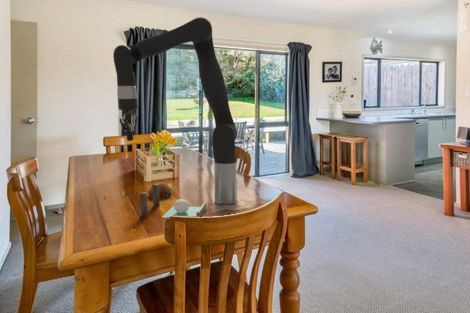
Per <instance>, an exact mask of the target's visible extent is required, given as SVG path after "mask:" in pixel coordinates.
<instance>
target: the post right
mask: <svg viewBox="0 0 470 313" xmlns="http://www.w3.org/2000/svg"><path fill="white" fill-rule="evenodd" d="M151 186H152V190H153V198H152V206H153V207H154V208H159V207H160V205H161V203H160V200H161V199H159V184H156V183H153V184H152V185H151Z"/></svg>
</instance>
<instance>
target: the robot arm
mask: <svg viewBox="0 0 470 313" xmlns="http://www.w3.org/2000/svg"><path fill="white" fill-rule="evenodd" d="M213 39H214V38H213V27H212V23H211V21H209V19H207V18H205V17H201V16H200V17H196V18H194V19H192V20H189V21H187V22H186V23H184V24H182V25H180V26H178V27H175V28H173V29H171V30H168V31H164V32H163V33H160V34H159V33H158V34H155V35H153V36H149V37H147V38H144V39H141V40H139V41H137V43H133V44H132V45H128V46H126V45H123V44H120V45H117V46H116V47H115V48H114V49H113V53H112V54H113V57H112V58H113V63H114V67H115V68H114V69H115V73H116V83H117V84H116V85H117V88H116V89H117V90H116V94H117V107H118V108H117V109H118V110H119V111H122V112H121V118H119V124H120V126H121V128H122V130H123V131H125V132H126V141H127V142H131V141H134V131H135V130H136V129H137V123H138V116H136V112H135V110H136V111H137V110H138V109H139V106H138V93H137V92H138V91H137V87H136V86H137V85H136V75H135V72H134V68H133V64H135V63H137V62H141V61H142V60H144V59H147V58H151V57H155V56H157V55H158V56H159V55H160V54H163V53H165V52H167V51H170V50H171V49H173V48H175V47H178V46H180V45H183V44H187V43H192V45H193V47H194V51H195V53H196V56H197V62H198V71H199V72H198V73H199V79H200V83H201V88H202V91H203V93H204V97H205V100H206V102H207V103H208V105H209V108H210V110H211V112H212V115H213V118H214V124H215V128H214V129H213V131H212V133H211V134H212V137H211V141H212V142H211V143H212V156H213V164H214V166H213V169H214V170H213V172H214V173H213V174H214V175H213V176H214V177H213V178H214V183H213V184H214V186H213V187H214V203H216V204H217V205H225V206H226V205H227V206H228V205H235V204H237V201H238V178H237V155H236V140H237V137H238V129H237V128H236V125H235V122H234V119H233V116H232V112H231V109H230V102H229V98H228V92H227V87H226V83H225V79H224V75H223V72H222V69H221V65H220V63H219V62H218V59H217V58H218V57H217V56H216V52H215V47H214V40H213Z"/></svg>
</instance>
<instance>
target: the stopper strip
mask: <svg viewBox="0 0 470 313" xmlns="http://www.w3.org/2000/svg"><path fill="white" fill-rule="evenodd" d="M199 207H200V208H199V210H198V211H197V212H196V216H198V217H199V216H201V217H202V216H203V214H204V213H205V211H206V210H207V209H206V207H207V202H203V203H202V204H201V205H200V206H199ZM205 209H206V210H205Z"/></svg>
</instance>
